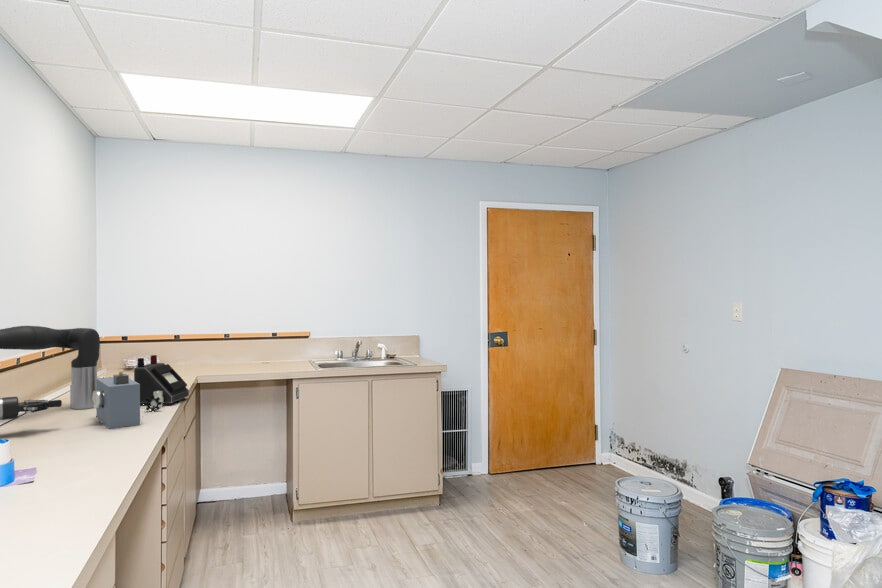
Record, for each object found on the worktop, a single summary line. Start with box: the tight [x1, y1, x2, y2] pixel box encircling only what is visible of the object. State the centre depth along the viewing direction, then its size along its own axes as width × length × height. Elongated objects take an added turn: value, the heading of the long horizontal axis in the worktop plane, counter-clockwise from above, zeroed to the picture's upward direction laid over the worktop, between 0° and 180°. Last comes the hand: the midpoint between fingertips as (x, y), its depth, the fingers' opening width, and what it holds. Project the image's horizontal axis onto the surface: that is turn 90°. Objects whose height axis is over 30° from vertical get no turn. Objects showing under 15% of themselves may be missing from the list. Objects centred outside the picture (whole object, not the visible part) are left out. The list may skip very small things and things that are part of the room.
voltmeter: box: [133, 354, 190, 406], centre depth 256 cm, size 16×16×20 cm
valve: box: [143, 391, 164, 412], centre depth 242 cm, size 7×7×12 cm
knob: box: [92, 390, 104, 409], centre depth 218 cm, size 6×9×6 cm
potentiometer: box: [113, 369, 130, 385], centre depth 215 cm, size 5×4×5 cm
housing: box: [95, 377, 141, 430], centre depth 220 cm, size 24×10×15 cm, turn 40°
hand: (61, 402), depth 208 cm, fingers closed
